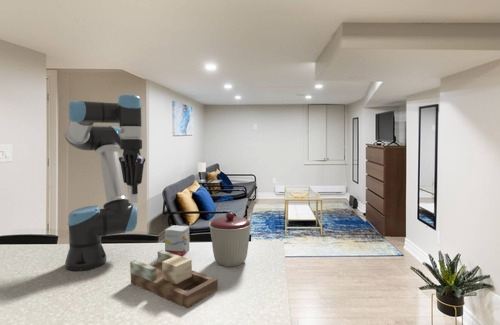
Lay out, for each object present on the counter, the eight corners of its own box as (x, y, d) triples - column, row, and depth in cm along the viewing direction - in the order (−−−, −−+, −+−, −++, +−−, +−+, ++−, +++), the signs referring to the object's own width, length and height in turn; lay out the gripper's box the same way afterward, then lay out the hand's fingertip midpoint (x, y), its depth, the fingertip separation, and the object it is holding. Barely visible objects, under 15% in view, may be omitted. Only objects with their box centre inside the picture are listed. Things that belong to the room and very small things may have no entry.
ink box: (182, 257, 137) (181, 230, 136) (164, 255, 138) (163, 229, 137) (190, 250, 145) (189, 225, 144) (173, 249, 147) (172, 224, 146)
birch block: (162, 278, 107) (162, 261, 106) (178, 271, 113) (177, 255, 112) (176, 284, 103) (175, 266, 102) (191, 276, 109) (191, 259, 108)
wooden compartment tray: (130, 283, 112) (130, 261, 111) (162, 269, 123) (161, 250, 123) (187, 308, 95) (186, 283, 95) (217, 290, 107) (217, 267, 106)
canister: (255, 255, 139) (255, 208, 137) (246, 272, 121) (246, 219, 119) (216, 252, 142) (216, 206, 141) (202, 268, 125) (201, 216, 123)
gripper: (111, 138, 114) (113, 202, 115) (132, 138, 106) (134, 206, 108) (129, 138, 120) (131, 199, 122) (151, 138, 112) (152, 203, 114)
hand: (133, 202), depth 115 cm, fingers closed
